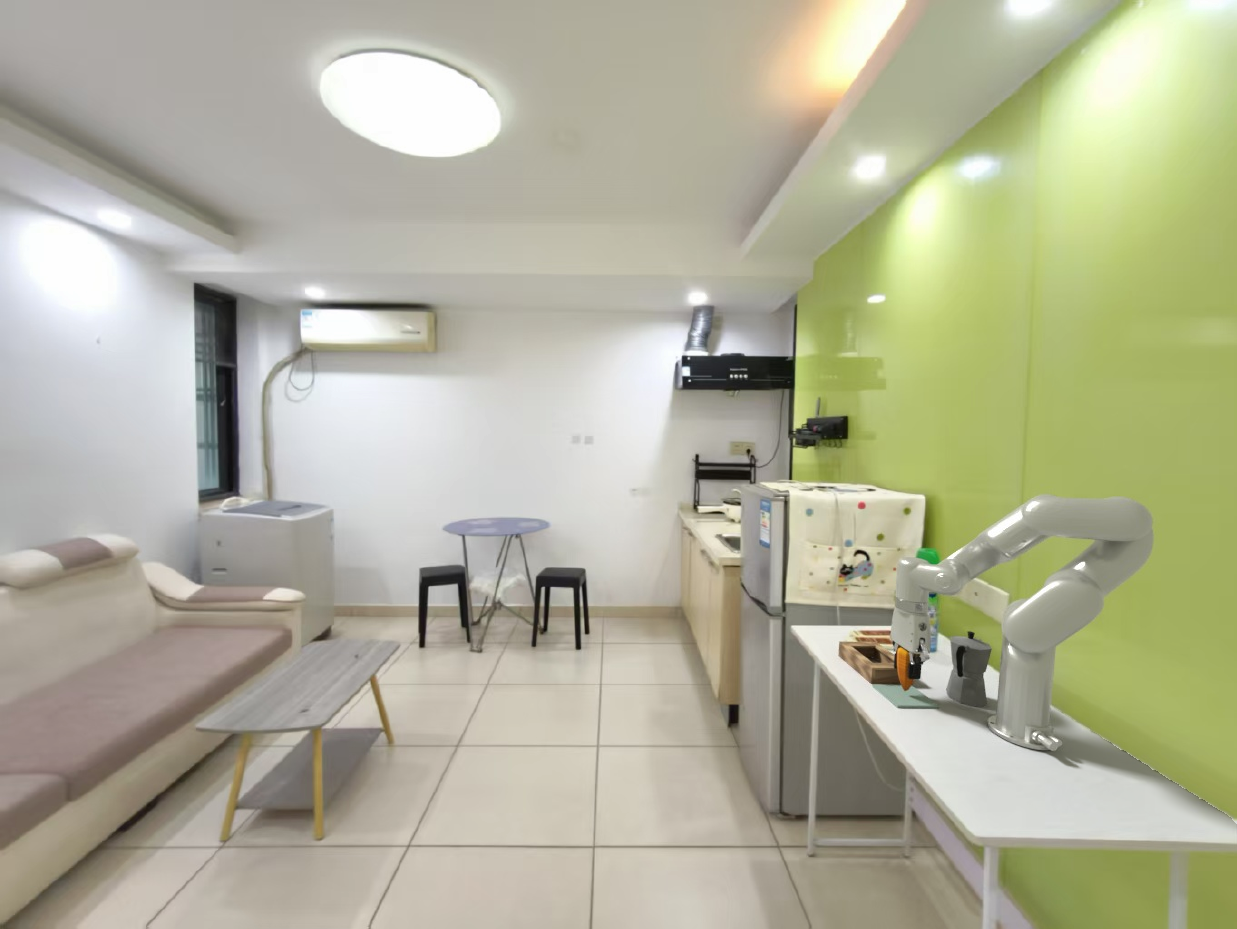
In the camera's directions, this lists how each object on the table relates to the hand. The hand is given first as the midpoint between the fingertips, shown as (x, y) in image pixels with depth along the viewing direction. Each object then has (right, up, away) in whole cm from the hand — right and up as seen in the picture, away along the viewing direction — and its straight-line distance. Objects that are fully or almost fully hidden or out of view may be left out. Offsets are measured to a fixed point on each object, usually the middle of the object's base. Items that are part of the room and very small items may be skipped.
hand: (906, 672), depth 132 cm
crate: (0, -6, +16) cm, 17 cm away
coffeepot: (+16, -7, 0) cm, 17 cm away
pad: (0, -7, 0) cm, 7 cm away
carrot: (0, -5, 0) cm, 5 cm away
